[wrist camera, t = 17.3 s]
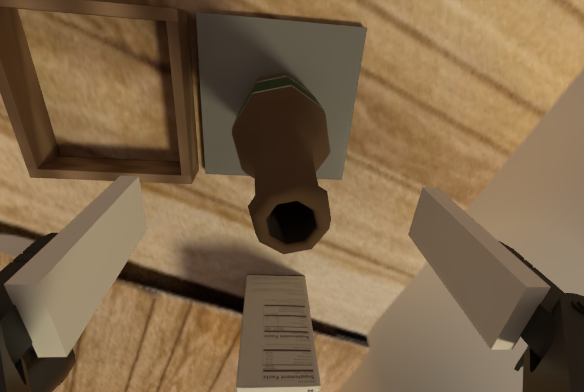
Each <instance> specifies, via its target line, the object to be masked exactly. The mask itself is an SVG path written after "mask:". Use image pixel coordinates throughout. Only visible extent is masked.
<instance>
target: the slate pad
mask: <svg viewBox="0 0 584 392" xmlns="http://www.w3.org/2000/svg"><path fill="white" fill-rule="evenodd" d="M196 26H197V42H198V59H199V75H200V92H201V108H202V125H203V141H204V158H205V174H221V175H244V176H249V175H248V174H246V173H245V172H244V171H243V170H242V168H241V165H240V161H239V158H238V154H237V151H236V147H235V143H234V140H233V136H232V126H233V124H234V122H235V119H236V117H237V115H238V112H239V110H240V107H241V105H242V103H243V101H244V100H245V98H246V96H247V95H248V93H249V91H250V90H251V88H252V86H253V85H254V83H255V82H256V80H257V79H258V78H260V77H265V76H270V75H275V74H280V73H287V74H288V75H289V76H291V77H292V78H294V79H295V80H296V81H298V82H299V83H300V84H302V85H303V86H304V87H306V88H307V89H308V90H310V91H311V93H312V94H313V95H314V97H315V98H316V99H317V101H318V102H319V103H320V105H321V106H322V107H323V109H324V112H325V115H326V122H327V130H328V138H329V146H330V154H329V155H328V157H327V158H326V160H325V161H324V162H323V164H322V165H321V166H320V168H319V169H318V170H317V171H316V177H317V179H335V180H342V175H343V169H344V163H345V157H346V151H347V145H348V139H349V133H350V127H351V121H352V115H353V109H354V103H355V97H356V91H357V85H358V79H359V73H360V67H361V61H362V55H363V49H364V43H365V37H366V31H367V28H366V27H355V26H344V25H333V24H322V23H311V22H300V21H289V20H278V19H267V18H256V17H245V16H234V15H223V14H212V13H201V12H196Z"/></svg>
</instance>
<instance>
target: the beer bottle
mask: <svg viewBox="0 0 584 392" xmlns="http://www.w3.org/2000/svg"><path fill="white" fill-rule="evenodd" d="M232 136H233V140H234V143H235V147H236V151H237V154H238V158H239V161H240V165H241V168H242V170H243V171H244V172H245V173H246V174H248V175H249V176H251V177H253V178H255V197H254V198H253V200H252V201H251V203H250V204H249V205H248V209H249V212H250V215H251V219H252V222H253V226H254V229H255V233H256V235H257V238H258V240H259V242H261V243H263V244H265V245H267V246H269V247H271V248H273V249H274V250H276V251H278V252H280V253H282V254H287V253H293V252H298V251H303V250H309V249H312V248H313V247H314V246H315V245H316V243H317V242H318V241H319V240H320V239H321V238H322V236H323V235H324V234H325V233H326V232H327V231H328V229H329V227H330V221H331V216H330V209H329V202H328V195H327V191H326V190H324V189H323V188H321V187H319V186H318V182H317V177H316V171H317V170H318V169H319V168H320V166H321V165H322V164H323V162H324V161H325V160H326V158H327V157H328V155H329V154H330V146H329V138H328V130H327V122H326V115H325V112H324V109H323V107H322V106H321V105H320V103H319V102H318V101H317V99H316V98H315V97H314V95H313V94H312V93H311V91H310V90H308V89H307V88H306V87H304V86H303V85H302V84H300V83H299V82H298V81H296V80H295V79H294V78H292V77H291V76H289V75H288V74H287V73H280V74H275V75H270V76H265V77H260V78H258V79H257V80H256V82H255V83H254V85H253V86H252V88H251V90H250V91H249V93H248V95H247V96H246V98H245V100H244V101H243V103H242V105H241V107H240V110H239V112H238V115H237V117H236V119H235V122H234V124H233V126H232Z"/></svg>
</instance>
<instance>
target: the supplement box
mask: <svg viewBox="0 0 584 392" xmlns="http://www.w3.org/2000/svg"><path fill="white" fill-rule="evenodd" d="M320 386H321V384H320V377H319V370H318V363H317V356H316V349H315V343H314V336H313V330H312V323H311V315H310V308H309V301H308V294H307V287H306V280H305V276H270V275H247V279H246V288H245V299H244V309H243V319H242V329H241V339H240V350H239V360H238V370H237V382H236V392H319V389H320Z"/></svg>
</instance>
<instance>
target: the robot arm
mask: <svg viewBox="0 0 584 392" xmlns="http://www.w3.org/2000/svg"><path fill="white" fill-rule="evenodd" d="M147 229H148V228H147V223H146V217H145V211H144V205H143V199H142V193H141V187H140V181H139V176H119V177H118V178H117V179H116V180H115V181H114V182H113V183H112V184H111V185H110V186H109V187H108V188H107V189H105V190H104V191H103V192H102V193H101V194H100V195H99V196H98V197H97V198H96V199H95V200H94V201H93V202H92V203H90V204H89V205H88V206H87V207H86V208H85V209H84V210H83V211H82V212H81V213H80V214H79V215H78V216H77V217H75V218H74V219H73V220H72V221H71V222H70V223H69V224H68V225H67V226H66V227H65V228H64V229H63V230H62V231H60V232H59V233H50V234H48V235H46V236H44V237H42V238H40V239H38V240H37V241H35V242H34V243H32V244H31V245H30V246H29V247H28V248H27V249H26V250H25V251H23V254H20V255H19V256H18V257H16V258H15V259H14V260H13V263H9V264H8V265H7V266H6V267H5V268H4V269H3V270H1V271H0V392H52V391H53V390H54V389H55V388H56V387H57V386H58V385H60V384H61V383H62V382H63V381H64V380H65V378H66V377H67V375H68V374H69V372H70V370H71V369H72V367H73V365H74V363H75V355H74V352H73V350H72V348H73V346H74V345H75V343H76V342H77V340H78V338H79V337H80V335H81V334H82V332H83V330H84V329H85V327H86V326H87V324H88V323H89V321H90V319H91V318H92V316H93V315H94V313H95V311H96V310H97V308H98V307H99V305H100V303H101V302H102V300H103V299H104V297H105V296H106V294H107V292H108V291H109V289H110V288H111V286H112V284H113V283H114V281H115V280H116V278H117V277H118V275H119V273H120V272H121V270H122V269H123V267H124V265H125V264H126V262H127V261H128V259H129V257H130V256H131V254H132V253H133V251H134V250H135V248H136V246H137V245H138V243H139V242H140V240H141V238H142V237H143V235H144V234H145V232H146V230H147ZM408 235H409V236H410V238H411V239H412V240H413V242H414V243H415V245H416V246H417V247H418V249H419V250H420V251H421V253H422V254H423V256H424V257H425V258H426V260H427V261H428V263H429V264H430V265H431V267H432V268H433V269H434V271H435V272H436V274H437V275H438V276H439V278H440V279H441V281H442V282H443V284H444V285H445V286H446V288H447V289H448V290H449V292H450V293H451V295H452V296H453V297H454V299H455V300H456V302H457V303H458V304H459V306H460V307H461V308H462V310H463V311H464V313H465V314H466V315H467V317H468V318H469V320H470V321H471V322H472V324H473V325H474V326H475V328H476V329H477V331H478V332H479V334H480V335H481V336H482V338H483V339H484V340H485V342H486V343H487V345H488V346H489V347H490V349H491V350H499V349H500V350H505V349H513V348H514V346H515V344H516V343H517V341H518V340H519V338H520V336H521V337H522V339H523V340H524V341H525V342H526V343H527V344H528V347H527V349H526V351H525V352H524V353H523V355H522V357H521V358H520V360H519V361H518V363H517V364H516V366H515V370H517V371H519V369H520V367H523V392H584V296H581V295H578V294H573V293H564V292H563V291H562V290H560V289H559V288H558V287H557V286H556V285H555V284H553V283H552V282H551V281H550V280H549V279H548V278H546V277H545V276H544V275H543V274H542V273H541V272H539V271H538V270H537V269H536V268H533V266H532V265H531V264H530V263H529V262H528V261H526V260H524V258H523V257H522V256H521V255H520V254H518V253H517V252H516V251H515V250H514V249H512V248H510V247H509V246H507V245H505V244H503V243H502V242H500V241H497V240H496V239H495V238H494V237H493V236H492V235H491V234H490V233H489V232H487V231H486V230H485V229H484V228H483V227H482V226H481V225H479V224H478V223H477V222H476V221H475V220H474V219H473V218H471V217H470V216H469V215H468V214H467V213H466V212H465V211H464V210H462V209H461V208H460V207H459V206H458V205H457V204H456V203H454V202H453V201H452V200H451V199H450V198H449V197H448V196H446V195H445V194H444V193H443V192H442V191H441V190H440V189H438V188H428V187H423V188H422V191H421V195H420V198H419V201H418V204H417V208H416V211H415V214H414V218H413V221H412V224H411V228H410V231H409V234H408Z"/></svg>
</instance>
